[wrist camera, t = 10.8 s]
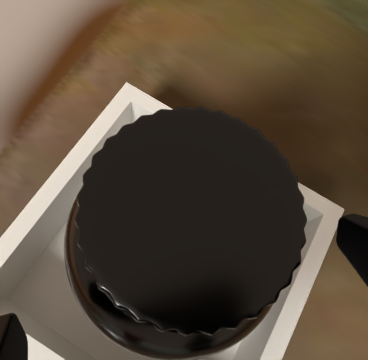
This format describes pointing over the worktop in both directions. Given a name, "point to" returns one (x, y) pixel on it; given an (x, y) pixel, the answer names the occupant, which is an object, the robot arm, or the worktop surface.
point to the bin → (56, 271)
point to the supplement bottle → (183, 233)
